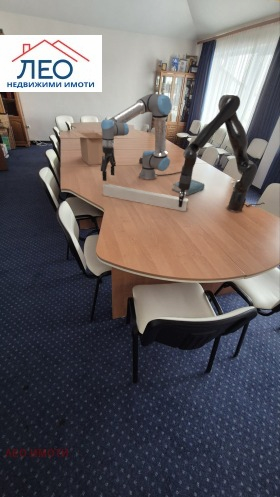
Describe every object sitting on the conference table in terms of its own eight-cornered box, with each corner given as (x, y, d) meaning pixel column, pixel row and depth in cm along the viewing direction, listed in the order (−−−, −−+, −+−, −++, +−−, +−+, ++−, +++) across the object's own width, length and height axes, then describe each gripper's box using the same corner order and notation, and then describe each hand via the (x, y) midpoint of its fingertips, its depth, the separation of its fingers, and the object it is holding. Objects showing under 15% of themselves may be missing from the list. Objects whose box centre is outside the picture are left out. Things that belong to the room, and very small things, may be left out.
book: (188, 184, 197) (189, 178, 194) (203, 189, 189) (204, 183, 186) (172, 189, 184) (173, 183, 181) (188, 196, 175) (189, 190, 172)
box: (116, 165, 229) (116, 136, 213) (83, 168, 214) (80, 137, 198) (102, 154, 259) (101, 128, 243) (71, 156, 244) (68, 129, 228)
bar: (103, 195, 167) (102, 185, 163) (105, 192, 171) (105, 183, 166) (185, 211, 153) (187, 201, 149) (186, 208, 157) (188, 198, 153)
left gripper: (105, 150, 137) (106, 184, 150) (120, 143, 156) (120, 173, 169) (94, 149, 139) (96, 182, 151) (110, 142, 158) (111, 172, 171)
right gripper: (189, 186, 138) (184, 210, 148) (192, 179, 149) (187, 202, 159) (177, 183, 140) (173, 208, 150) (181, 177, 151) (177, 200, 161)
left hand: (108, 177), depth 160 cm, fingers open, 13 cm apart
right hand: (180, 205), depth 154 cm, fingers closed on bar, 5 cm apart
